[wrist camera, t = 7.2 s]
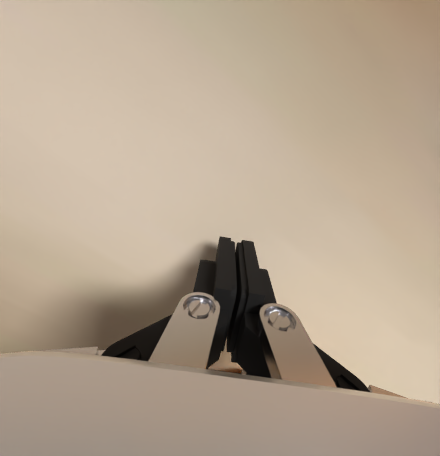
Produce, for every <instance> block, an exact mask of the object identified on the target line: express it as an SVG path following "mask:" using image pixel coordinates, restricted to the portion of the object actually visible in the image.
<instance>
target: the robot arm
mask: <svg viewBox="0 0 440 456" xmlns="http://www.w3.org/2000/svg"><path fill="white" fill-rule="evenodd" d="M226 337H227V352H231V362H236V363H238V364H239V365H240V366H241V367H242V368H243V370H242V374H238V373H230V372H223V371H216V370H209V369H208V367H209V366H211V365H212V364H213V363H215V362H216V361H217V360H218V359H219V357H220V353H221V351H223V350H224V346H225V341H226ZM0 456H440V404H437V403H432V402H426V401H420V400H414V399H408V398H406V397H403V396H400V395H397V394H394V393H392V392H389V391H386V390H383V389H380V388H378V387H375V386H372V385H369V387H368V388H367V387H366V386H365V384H364V383H363V382H362V381H361V380H359V379H358V378H357V377H356V376H355V375H353V374H352V373H351V372H350V371H348V370H347V369H346V368H344V367H343V366H342V365H340V364H339V363H338V362H336V361H335V360H334V359H333V358H331V357H330V356H329V355H327V354H326V353H325V352H323V351H322V350H321V349H319V348H318V347H317V346H316V345H314V344H313V343H312V341H311V339H310V338H309V336H308V334H307V332H306V330H305V329H304V327H303V325H302V323H301V321H300V319H299V318H298V317H297V315H296V314H295V313H294V312H293V311H292V310H290V309H289V308H287V307H285V306H283V305H280V304H277V303H276V299H275V296H274V292H273V289H272V285H271V281H270V278H269V274H268V271H267V270H266V269H259V265H258V260H257V256H256V251H255V247H254V243H253V242H251V241H245V240H242V242H241V243H239V242H238V243H237V246H236V251H235V242H233V241H231V238H226V237H220V238H219V244H218V249H217V255H216V261H215V262H214V261H208V260H200V264H199V269H198V273H197V278H196V282H195V287H194V291H193V293H190V294H187V295H185V296H184V297H182V299H181V300H180V301H179V303H178V305H177V307H176V309H175V311H174V313H173V314H172V315H170V316H168V317H166V318H164V319H162V320H160V321H158V322H156V323H154V324H152V325H150V326H148V327H146V328H144V329H142V330H140V331H138V332H136V333H134V334H132V335H130V336H128V337H126V338H124V339H122V340H120V341H118V342H116V343H114V344H113V345H111V346H110V347H108V348H107V349H106V350H98V347H83V348H69V349H54V350H40V351H25V352H13V353H2V354H0Z"/></svg>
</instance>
